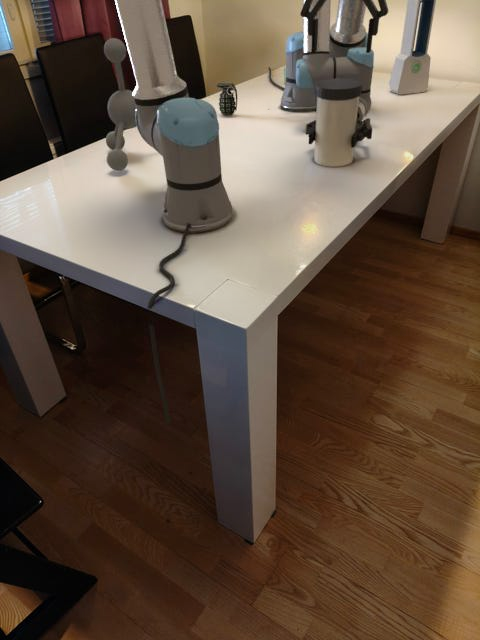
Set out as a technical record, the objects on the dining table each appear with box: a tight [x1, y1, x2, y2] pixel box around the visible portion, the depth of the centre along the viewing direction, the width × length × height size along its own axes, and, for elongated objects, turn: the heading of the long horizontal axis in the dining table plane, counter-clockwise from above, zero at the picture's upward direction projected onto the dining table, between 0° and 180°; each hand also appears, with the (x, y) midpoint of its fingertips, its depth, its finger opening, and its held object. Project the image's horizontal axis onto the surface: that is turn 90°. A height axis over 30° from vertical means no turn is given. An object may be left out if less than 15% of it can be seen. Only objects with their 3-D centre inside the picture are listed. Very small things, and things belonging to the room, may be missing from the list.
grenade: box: [215, 82, 238, 117], centre depth 166 cm, size 7×6×10 cm
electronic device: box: [388, 0, 437, 96], centre depth 174 cm, size 12×8×30 cm, turn 105°
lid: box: [315, 79, 362, 100], centre depth 120 cm, size 11×11×2 cm
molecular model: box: [103, 37, 137, 172], centre depth 131 cm, size 24×22×30 cm
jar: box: [313, 97, 359, 168], centre depth 126 cm, size 10×10×18 cm
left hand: (340, 51), depth 115 cm, fingers open, 12 cm apart
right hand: (331, 140), depth 124 cm, fingers open, 10 cm apart
